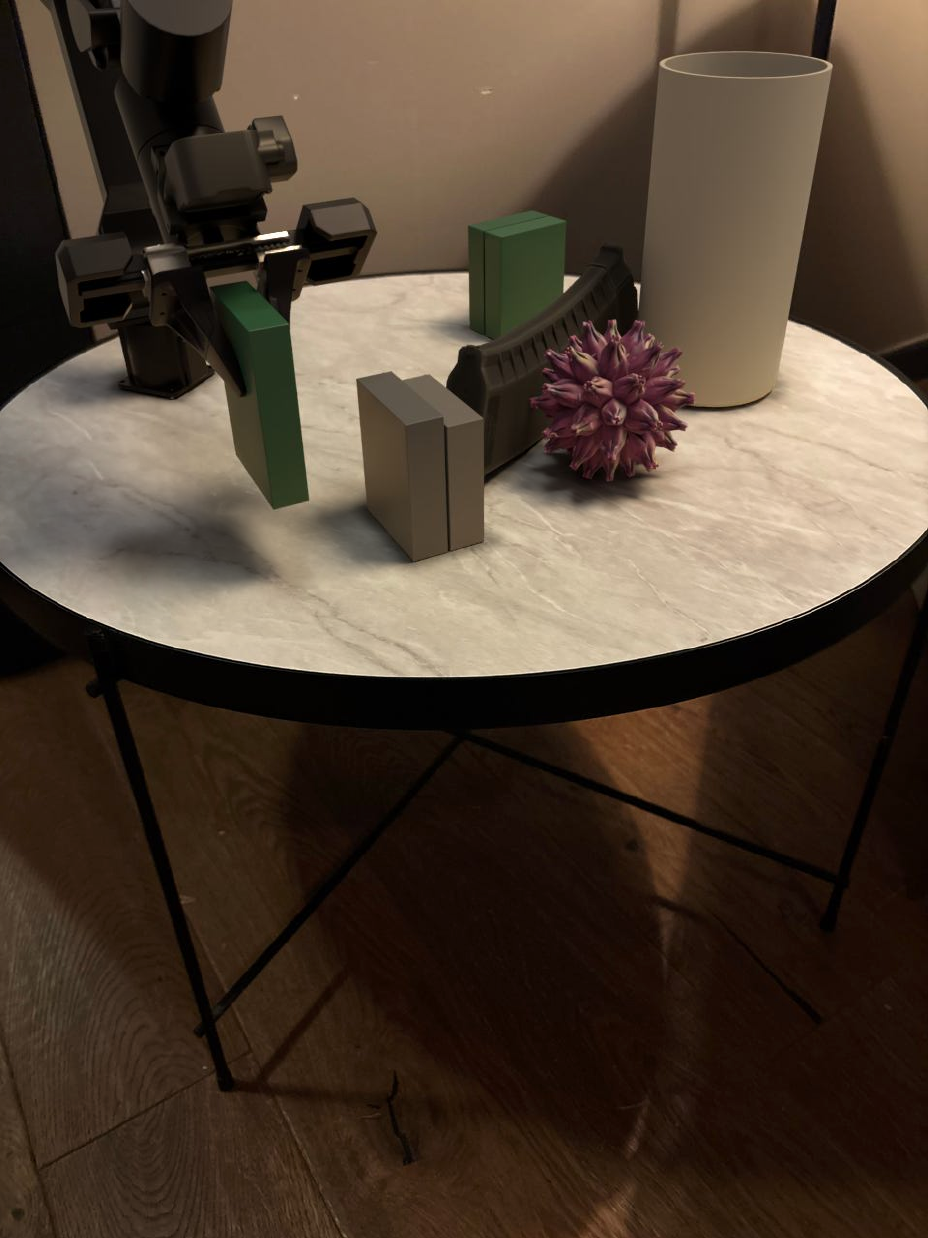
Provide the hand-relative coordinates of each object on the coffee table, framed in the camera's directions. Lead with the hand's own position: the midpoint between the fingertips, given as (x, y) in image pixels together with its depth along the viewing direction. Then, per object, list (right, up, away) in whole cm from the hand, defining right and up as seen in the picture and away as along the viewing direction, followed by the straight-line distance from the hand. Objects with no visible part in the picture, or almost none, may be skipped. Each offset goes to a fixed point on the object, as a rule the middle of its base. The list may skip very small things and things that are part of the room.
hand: (264, 389), depth 61 cm
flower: (+23, -3, +17) cm, 28 cm away
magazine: (+19, +3, +24) cm, 31 cm away
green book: (-1, -5, +5) cm, 7 cm away
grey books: (+9, -7, +10) cm, 16 cm away
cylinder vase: (+33, +7, +29) cm, 45 cm away
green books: (+17, +16, +41) cm, 47 cm away
